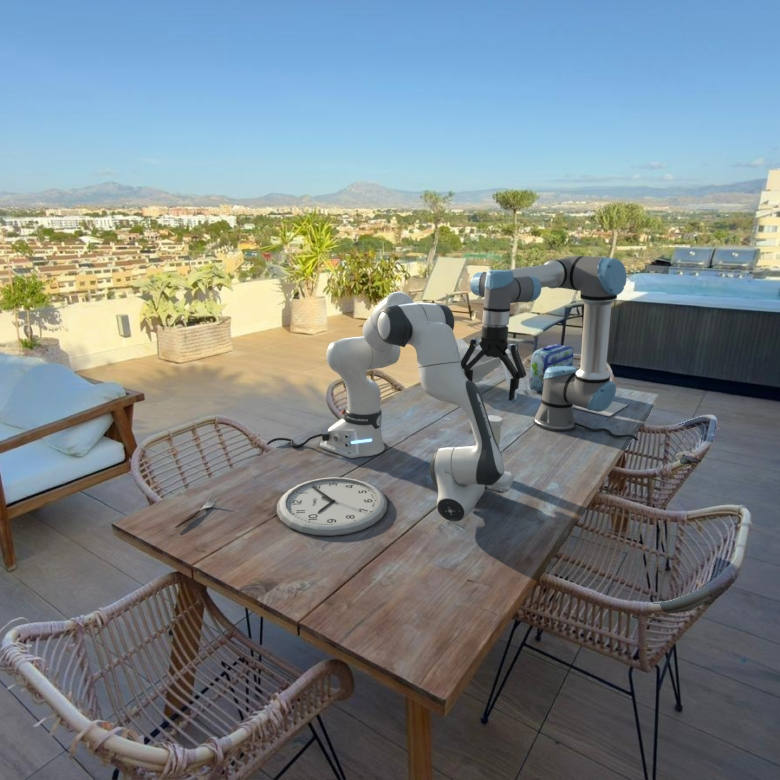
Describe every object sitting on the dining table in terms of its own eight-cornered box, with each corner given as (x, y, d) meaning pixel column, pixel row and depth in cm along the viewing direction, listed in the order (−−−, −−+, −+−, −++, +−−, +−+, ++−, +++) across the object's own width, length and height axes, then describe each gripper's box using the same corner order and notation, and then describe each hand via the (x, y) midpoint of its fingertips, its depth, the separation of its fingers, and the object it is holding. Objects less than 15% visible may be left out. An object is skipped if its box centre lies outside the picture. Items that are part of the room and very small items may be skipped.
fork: (171, 528, 130) (170, 521, 130) (212, 499, 145) (211, 492, 144) (179, 530, 129) (178, 523, 129) (220, 500, 144) (219, 494, 143)
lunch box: (545, 397, 238) (550, 352, 231) (524, 391, 245) (529, 348, 239) (572, 386, 255) (578, 344, 249) (552, 381, 262) (557, 340, 256)
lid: (497, 428, 154) (498, 422, 153) (480, 424, 156) (481, 418, 156) (504, 422, 158) (505, 417, 157) (488, 419, 161) (488, 413, 160)
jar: (492, 479, 159) (497, 423, 153) (477, 475, 162) (482, 420, 156) (499, 473, 163) (503, 419, 157) (484, 469, 165) (488, 415, 160)
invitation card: (608, 416, 214) (573, 407, 224) (608, 416, 214) (573, 408, 224) (628, 404, 229) (594, 396, 238) (628, 405, 229) (594, 397, 238)
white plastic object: (461, 429, 252) (437, 405, 227) (444, 352, 274) (420, 323, 250) (535, 404, 240) (518, 377, 215) (510, 326, 262) (492, 293, 237)
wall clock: (392, 527, 129) (268, 531, 127) (391, 533, 130) (269, 537, 127) (383, 473, 158) (282, 475, 155) (383, 478, 158) (282, 480, 156)
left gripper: (508, 482, 137) (519, 461, 149) (435, 465, 146) (451, 448, 158) (506, 503, 139) (517, 481, 151) (434, 486, 148) (450, 467, 159)
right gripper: (542, 328, 147) (534, 399, 153) (461, 318, 160) (457, 385, 166) (533, 332, 141) (526, 406, 147) (450, 322, 154) (446, 390, 160)
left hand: (483, 464), depth 154 cm, fingers open, 8 cm apart
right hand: (489, 395), depth 157 cm, fingers open, 13 cm apart
